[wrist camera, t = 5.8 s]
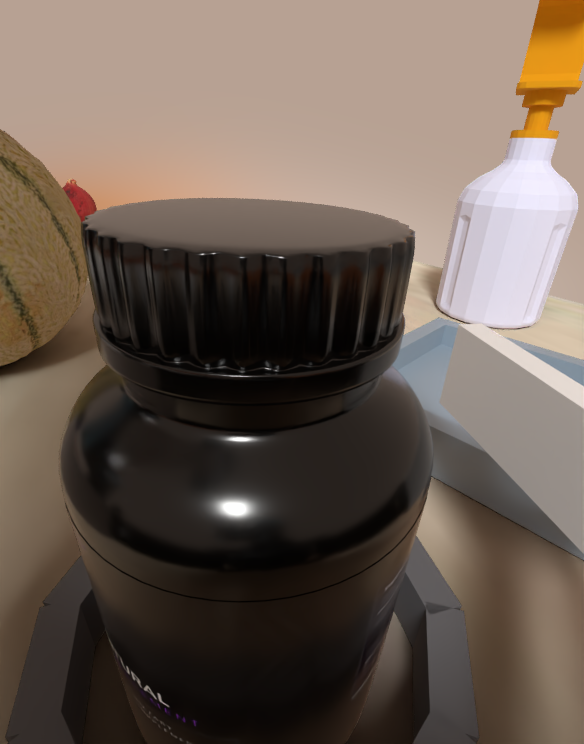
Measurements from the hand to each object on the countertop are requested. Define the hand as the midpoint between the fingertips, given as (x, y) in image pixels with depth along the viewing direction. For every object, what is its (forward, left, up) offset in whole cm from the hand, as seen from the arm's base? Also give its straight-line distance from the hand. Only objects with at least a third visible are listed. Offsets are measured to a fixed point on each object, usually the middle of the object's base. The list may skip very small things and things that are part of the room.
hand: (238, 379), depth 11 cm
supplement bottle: (+3, -2, -7) cm, 8 cm away
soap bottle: (-4, +33, -7) cm, 34 cm away
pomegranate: (-64, +19, -7) cm, 67 cm away
